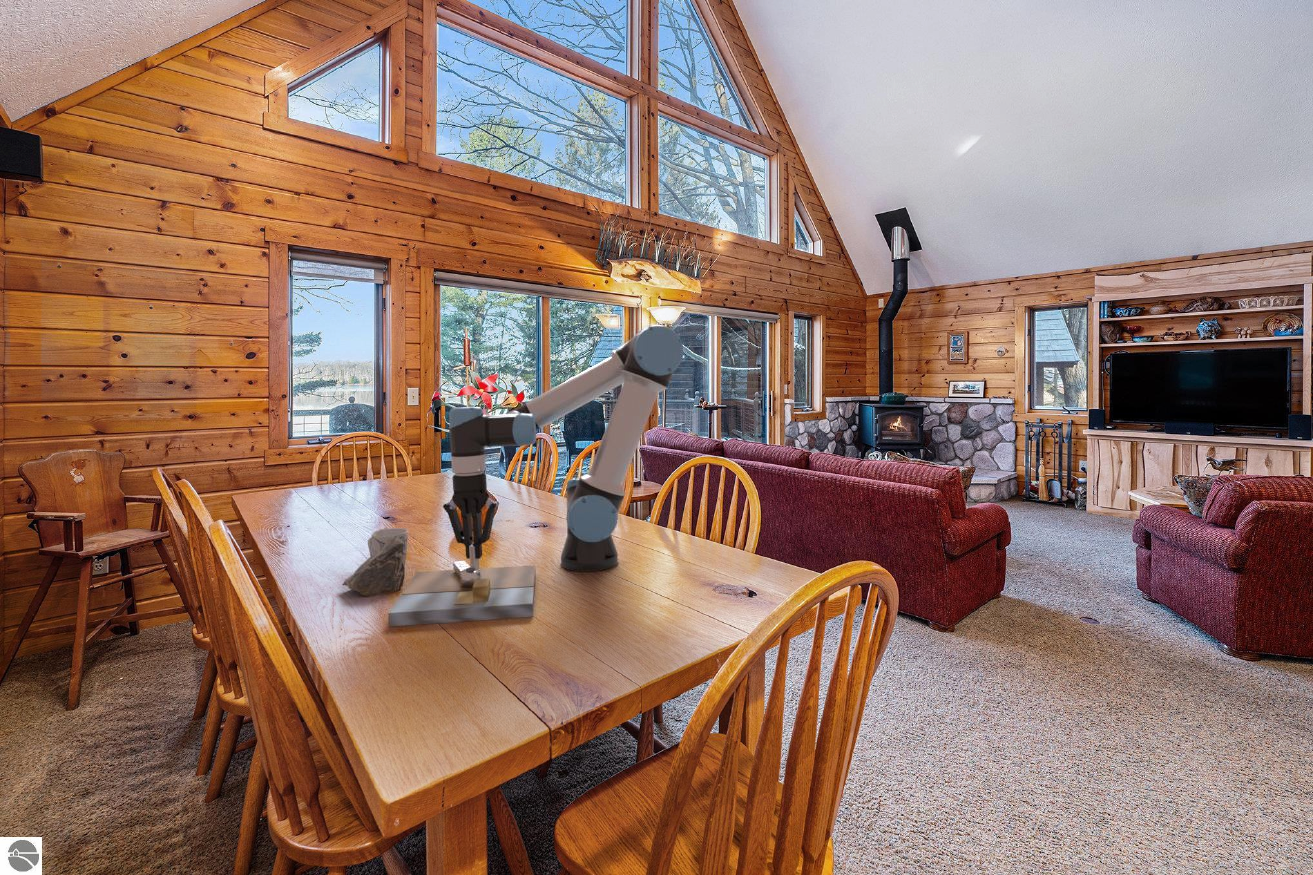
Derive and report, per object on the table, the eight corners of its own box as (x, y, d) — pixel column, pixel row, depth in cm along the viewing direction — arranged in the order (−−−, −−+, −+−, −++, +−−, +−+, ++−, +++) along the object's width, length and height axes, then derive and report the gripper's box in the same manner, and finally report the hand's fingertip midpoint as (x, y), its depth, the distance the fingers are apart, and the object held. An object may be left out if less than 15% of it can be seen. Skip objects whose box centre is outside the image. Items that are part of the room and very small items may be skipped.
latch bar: (483, 584, 132) (482, 569, 132) (463, 588, 130) (462, 573, 130) (468, 567, 144) (467, 554, 144) (449, 570, 142) (449, 557, 141)
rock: (346, 592, 130) (368, 526, 136) (338, 592, 136) (360, 528, 142) (401, 602, 137) (420, 539, 142) (391, 601, 143) (409, 541, 148)
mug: (356, 571, 151) (355, 533, 150) (383, 562, 159) (381, 525, 158) (390, 577, 146) (389, 537, 146) (416, 567, 154) (414, 529, 153)
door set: (535, 576, 147) (535, 553, 146) (532, 616, 122) (532, 588, 121) (417, 583, 142) (416, 559, 141) (388, 626, 117) (387, 597, 116)
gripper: (501, 470, 141) (506, 566, 143) (449, 471, 142) (455, 566, 144) (489, 475, 133) (495, 576, 135) (435, 476, 134) (442, 576, 136)
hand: (475, 571), depth 140 cm, fingers closed
